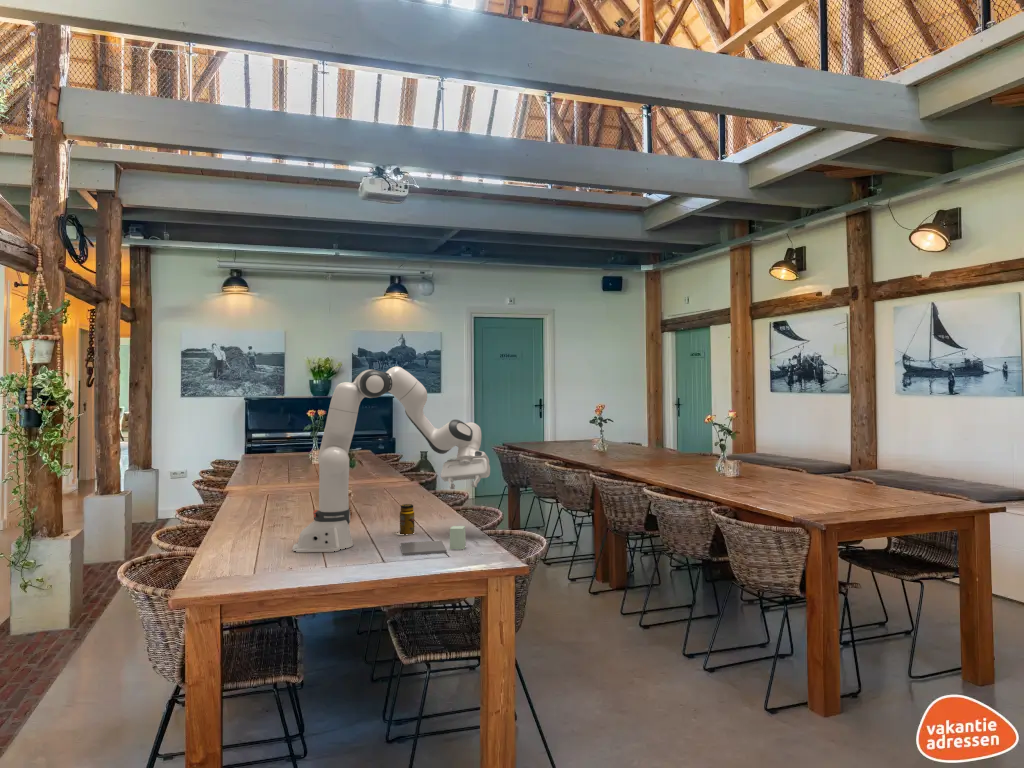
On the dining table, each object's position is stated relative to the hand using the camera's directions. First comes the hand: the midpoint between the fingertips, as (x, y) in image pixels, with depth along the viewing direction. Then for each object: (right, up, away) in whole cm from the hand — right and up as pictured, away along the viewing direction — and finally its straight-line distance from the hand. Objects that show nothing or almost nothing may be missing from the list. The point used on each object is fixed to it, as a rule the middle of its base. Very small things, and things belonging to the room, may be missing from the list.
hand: (462, 487), depth 273 cm
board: (-14, -21, -12) cm, 29 cm away
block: (-1, -21, -12) cm, 24 cm away
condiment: (-25, -22, +15) cm, 36 cm away
